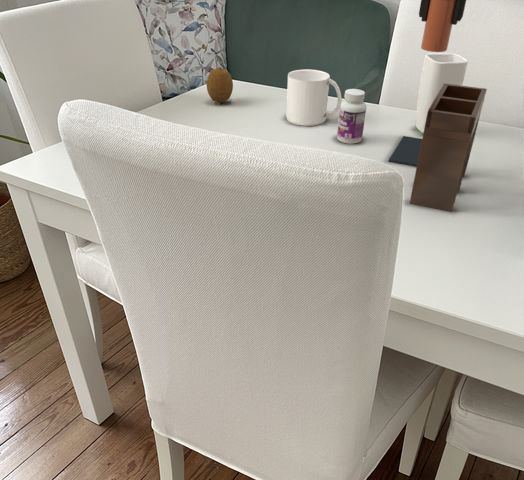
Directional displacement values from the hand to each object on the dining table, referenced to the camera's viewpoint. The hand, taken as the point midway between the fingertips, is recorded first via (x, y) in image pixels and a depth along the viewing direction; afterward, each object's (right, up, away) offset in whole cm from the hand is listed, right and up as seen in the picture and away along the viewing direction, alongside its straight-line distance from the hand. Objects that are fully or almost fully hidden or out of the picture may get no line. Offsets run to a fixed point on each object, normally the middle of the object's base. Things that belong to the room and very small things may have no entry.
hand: (439, 21), depth 100 cm
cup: (+6, -10, +24) cm, 27 cm away
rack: (0, -29, +2) cm, 29 cm away
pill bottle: (-13, -14, +20) cm, 27 cm away
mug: (-20, -6, +29) cm, 35 cm away
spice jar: (0, -3, +3) cm, 4 cm away
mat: (0, -18, +15) cm, 23 cm away
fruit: (-41, +2, +37) cm, 55 cm away
